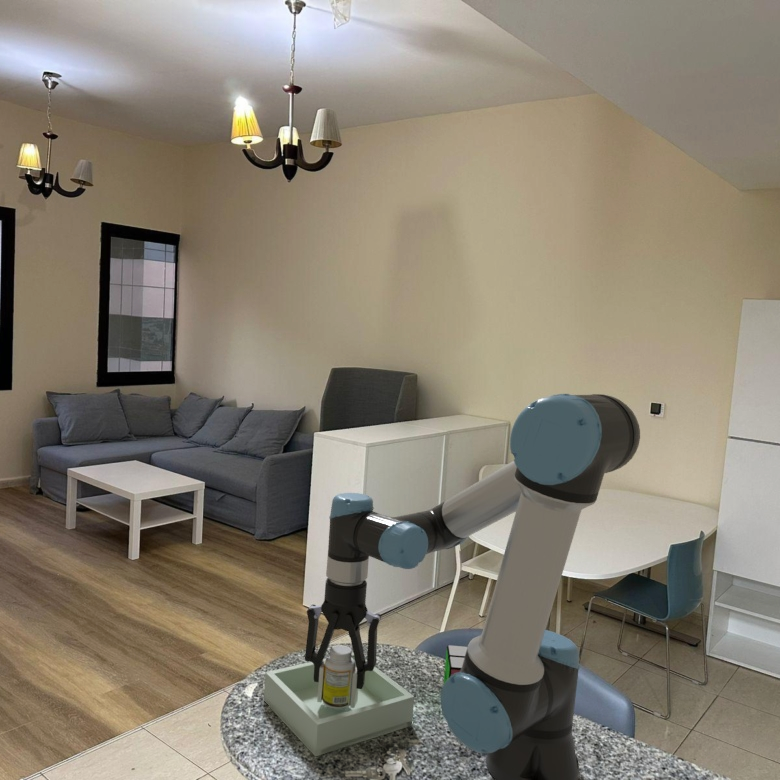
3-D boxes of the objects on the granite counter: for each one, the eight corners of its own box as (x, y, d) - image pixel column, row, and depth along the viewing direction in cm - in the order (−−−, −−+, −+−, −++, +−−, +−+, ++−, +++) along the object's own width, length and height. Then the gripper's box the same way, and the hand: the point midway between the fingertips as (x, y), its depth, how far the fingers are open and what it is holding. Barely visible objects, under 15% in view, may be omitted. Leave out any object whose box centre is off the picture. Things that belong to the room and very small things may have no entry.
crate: (411, 725, 129) (414, 696, 128) (315, 756, 117) (317, 724, 117) (353, 677, 145) (355, 651, 144) (263, 700, 133) (265, 672, 133)
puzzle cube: (499, 724, 132) (503, 672, 131) (445, 719, 132) (449, 667, 131) (492, 696, 142) (496, 648, 141) (442, 692, 142) (446, 644, 141)
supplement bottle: (336, 692, 134) (340, 640, 134) (358, 703, 131) (362, 650, 130) (315, 702, 130) (319, 648, 129) (337, 714, 127) (342, 659, 126)
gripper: (399, 578, 131) (390, 699, 133) (303, 565, 134) (295, 683, 136) (393, 592, 124) (383, 720, 125) (291, 578, 127) (282, 703, 128)
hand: (337, 700), depth 131 cm, fingers closed on supplement bottle, 5 cm apart
